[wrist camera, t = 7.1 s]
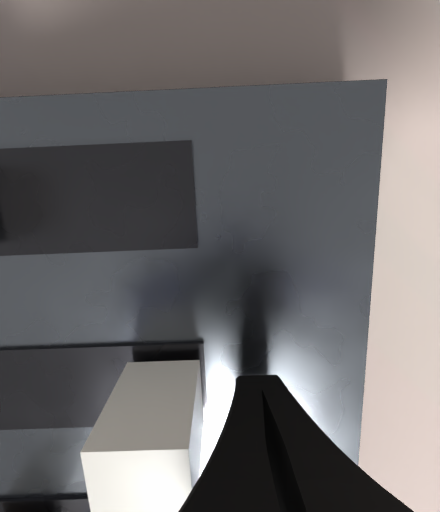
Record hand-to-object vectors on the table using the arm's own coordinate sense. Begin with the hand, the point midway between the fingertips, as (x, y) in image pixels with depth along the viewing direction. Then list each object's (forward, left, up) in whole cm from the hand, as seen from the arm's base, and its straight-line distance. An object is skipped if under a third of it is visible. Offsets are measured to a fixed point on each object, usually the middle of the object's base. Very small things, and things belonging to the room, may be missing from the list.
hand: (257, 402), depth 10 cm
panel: (0, +6, -4) cm, 7 cm away
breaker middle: (0, +3, -1) cm, 3 cm away
